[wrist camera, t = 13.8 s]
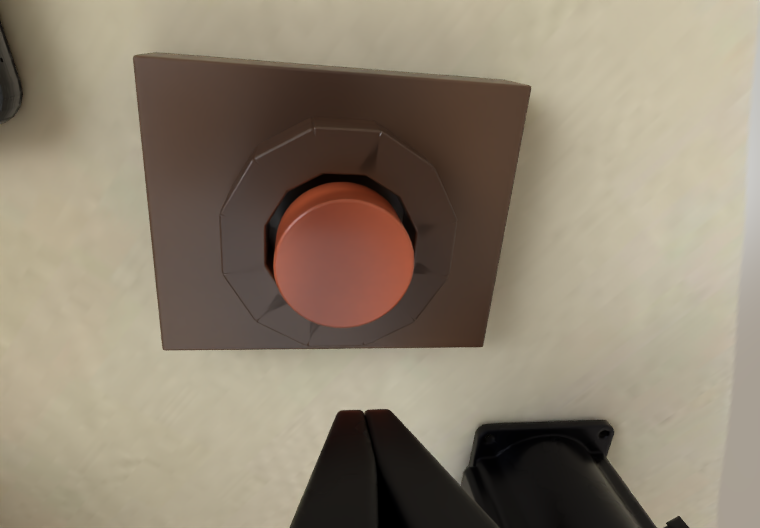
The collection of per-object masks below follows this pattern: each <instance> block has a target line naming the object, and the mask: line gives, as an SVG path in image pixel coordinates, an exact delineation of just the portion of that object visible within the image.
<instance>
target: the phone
mask: <svg viewBox="0 0 760 528" xmlns="http://www.w3.org/2000/svg"><path fill="white" fill-rule="evenodd" d="M22 95H23V94H22V88H21V82H20V79H19V76H18V73H17V70H16V67H15V63H14V60H13V57H12V54H11V51H10V48H9V45H8V42H7V39H6V36H5V33H4V30H3V27H2V24H1V21H0V124H2V123H5V122H6V121H8V120H9V119H11V118H12V117H14V116H15V114H16V113H17V111H18V109H19V108H20V106H21V101H22Z"/></svg>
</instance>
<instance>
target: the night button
mask: <svg viewBox="0 0 760 528" xmlns="http://www.w3.org/2000/svg"><path fill="white" fill-rule="evenodd" d="M273 269H274V277H275V281H276V284H277V287H278V290H279V292H280V293H281V295H282V297H283V298H284V300H285V301H286V302H287V304H288V305H289V306H290V307H291V308H292V309H293V310H294V311H295V312H297V313H298V314H299V315H301V316H302V317H304V318H305V319H307V320H309V321H311V322H313V323H316V324H319V325H322V326H326V327H332V328H351V327H357V326H361V325H365V324H368V323H370V322H373V321H375V320H377V319H379V318H380V317H382V316H384V315H385V314H386V313H388V312H389V311H390V310H391V309H393V308H394V307H395V306H396V305H397V304H398V302H399V301H400V300H401V299H402V297H403V296H404V294H405V293H406V291H407V289H408V287H409V285H410V282H411V279H412V276H413V271H414V250H413V246H412V242H411V240H410V237H409V235H408V233H407V231H406V229H405V228H404V226H403V224H402V222H401V220H400V218H399V217H398V215H397V213H396V211H395V210H394V208H393V207H392V206H391V204H390V203H389V202H388V201H387V200H386V199H385V198H384V197H383V196H382V195H380V194H379V193H377V192H376V191H374V190H372V189H370V188H368V187H366V186H363V185H360V184H356V183H351V182H332V183H326V184H322V185H319V186H316V187H314V188H312V189H309V190H308V191H306V192H304V193H303V194H301V195H300V196H299V197H298V198H296V199H295V200H294V201H293V202H292V203H291V204H290V206H289V207H288V208H287V210H286V211H285V213H284V214H283V216H282V218H281V220H280V223H279V226H278V229H277V234H276V242H275V251H274V262H273Z"/></svg>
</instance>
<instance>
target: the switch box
mask: <svg viewBox="0 0 760 528" xmlns="http://www.w3.org/2000/svg"><path fill="white" fill-rule="evenodd" d="M133 63H134V73H135V83H136V92H137V102H138V112H139V122H140V132H141V142H142V151H143V161H144V171H145V181H146V191H147V201H148V211H149V220H150V230H151V240H152V250H153V260H154V270H155V279H156V289H157V299H158V309H159V319H160V329H161V339H162V348H163V350H245V349H343V348H441V347H483V343H484V338H485V333H486V327H487V322H488V317H489V311H490V306H491V301H492V295H493V290H494V285H495V279H496V274H497V269H498V263H499V258H500V253H501V247H502V242H503V236H504V231H505V226H506V220H507V215H508V210H509V204H510V199H511V194H512V188H513V183H514V178H515V172H516V167H517V162H518V156H519V151H520V146H521V140H522V135H523V129H524V124H525V119H526V113H527V108H528V103H529V97H530V92H531V86H529V85H525V84H520V83H516V82H512V81H507V80H500V79H487V78H474V77H462V76H449V75H436V74H424V73H411V72H398V71H385V70H373V69H360V68H347V67H334V66H322V65H309V64H296V63H284V62H271V61H258V60H245V59H233V58H220V57H207V56H195V55H182V54H169V53H148V54H140V55H135V56H134V57H133ZM332 182H351V183H356V184H360V185H363V186H366V187H368V188H370V189H372V190H374V191H376V192H377V193H379V194H380V195H382V196H383V197H384V198H385V199H386V200H387V201H388V202H389V203H390V204H391V206H392V207H393V208H394V210H395V211H396V213H397V215H398V217H399V218H400V220H401V222H402V224H403V226H404V228H405V229H406V231H407V233H408V235H409V237H410V240H411V242H412V246H413V250H414V271H413V276H412V279H411V282H410V285H409V287H408V289H407V291H406V293H405V294H404V296H403V297H402V299H401V300H400V301H399V302H398V304H397V305H396V306H395V307H394V308H393V309H391V310H390V311H389V312H388V313H386V314H385V315H384V316H382V317H380V318H379V319H377V320H375V321H373V322H370V323H368V324H365V325H361V326H357V327H351V328H332V327H326V326H322V325H319V324H316V323H313V322H311V321H309V320H307V319H305V318H304V317H302V316H301V315H299V314H298V313H297V312H295V311H294V310H293V309H292V308H291V307H290V306H289V305H288V304H287V302H286V301H285V300H284V298H283V297H282V295H281V293H280V292H279V290H278V287H277V284H276V281H275V277H274V269H273V262H274V251H275V242H276V234H277V229H278V226H279V223H280V220H281V218H282V216H283V214H284V213H285V211H286V210H287V208H288V207H289V206H290V204H291V203H292V202H293V201H294V200H295V199H296V198H298V197H299V196H300V195H301V194H303V193H304V192H306V191H308V190H309V189H312V188H314V187H316V186H319V185H322V184H326V183H332Z"/></svg>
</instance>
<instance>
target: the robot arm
mask: <svg viewBox="0 0 760 528" xmlns="http://www.w3.org/2000/svg"><path fill="white" fill-rule="evenodd" d="M487 435H489V436H488V437H485V436H487ZM613 435H614V429H613V428H612V426H611V425H610V424H609V423H608V422H607V421H606V420H582V421H554V422H526V423H498V424H484V425H482V426H480V427H479V428H478V429H477V430H476V432H475V437H474V442H473V447H472V452H471V457H470V462H469V467H467V468H466V469H465V471H464V472H463V478H462V483H461V486H460V485H459V484H458V483H457V481H456V480H455V479H454V478H453V477H452V476H451V475H450V474H449V473H448V472H447V471H446V470H445V469H444V468H443V466H442V465H441V464H440V463H439V462H438V461H437V460H436V459H435V458H434V457H433V456H432V455H431V454H430V452H429V451H428V450H427V449H426V448H425V447H424V446H423V445H422V444H421V443H420V442H419V441H418V440H417V438H416V437H415V436H414V435H413V434H412V433H411V432H410V431H409V430H408V429H407V428H406V427H405V426H404V424H403V423H402V422H401V421H400V420H399V419H398V418H397V417H396V416H395V415H394V414H393V413H392V412H391V411H390V410H387V409H377V410H367V411H365V413H363V411H361V410H342V411H339V412H338V413H337V415H336V417H335V420H334V422H333V424H332V427H331V429H330V432H329V434H328V436H327V439H326V441H325V444H324V446H323V448H322V451H321V453H320V456H319V458H318V460H317V463H316V465H315V468H314V470H313V472H312V475H311V477H310V480H309V482H308V485H307V487H306V489H305V492H304V494H303V497H302V499H301V501H300V504H299V506H298V509H297V511H296V513H295V516H294V518H293V521H292V523H291V525H290V528H657V527H656V526H655V524H654V523H653V521H652V520H651V519H650V517H649V516H648V515H647V513H646V512H645V510H644V509H643V508H642V506H641V505H640V504H639V502H638V501H637V499H636V498H635V497H634V495H633V494H632V493H631V491H630V490H629V488H628V487H627V486H626V484H625V483H624V481H623V480H622V479H621V477H620V476H619V475H618V473H617V472H616V470H615V469H614V468H613V466H612V465H611V464H610V462H609V461H608V459H607V458H606V456H607V453H608V450H609V447H610V444H611V441H612V438H613ZM666 524H667V526H666V527H664V528H689V527H688V526H687V525H686V523H685V522H684V521H683V520H682V519H681V517H680V516H677V517H676V518H674V519H672V520H670V521H669V522H667V523H666Z"/></svg>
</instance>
